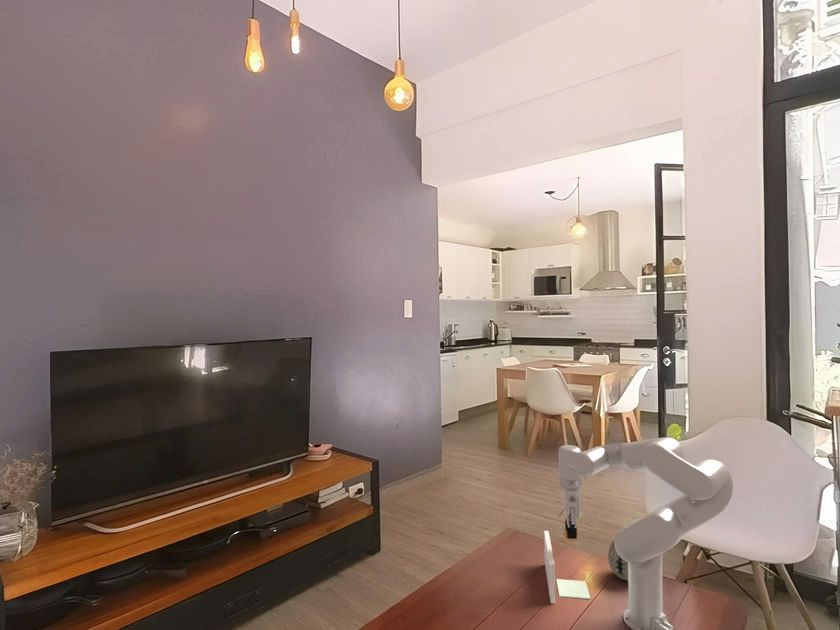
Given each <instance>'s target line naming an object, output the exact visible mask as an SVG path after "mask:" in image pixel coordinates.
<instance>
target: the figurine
mask: <svg viewBox="0 0 840 630" xmlns="http://www.w3.org/2000/svg"><path fill="white" fill-rule="evenodd" d="M563 513H564V508H563V509H562V510H561V512H560V513H559V516H558V518H560V517H561V515H562V514H563ZM582 516H583V515H582V514H581V519H580V520H581V524H584V520H583V517H582ZM569 517H571V516H569ZM569 521H570V520H569ZM567 524H568V520H567ZM563 538H564V539H563V540H564V541H566V542H567V543H573V542H575V540H576V539H571V538H567V530H566V531H563Z"/></svg>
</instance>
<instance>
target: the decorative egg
mask: <svg viewBox="0 0 840 630" xmlns="http://www.w3.org/2000/svg"><path fill="white" fill-rule="evenodd" d="M614 542H615V539H613V541H611V543H610V545H609V548H608V554H607V556H608V557H607V559H608V564H609V567H610V569H611V571H612V572H613V574H614V575H616V577H617V578H619V579H621V580H622V581H627V582H628V562H626V561H625V560H623V559H622V558H621V557H620V556H619V555H618V553H617V552H616V549H615V544H614Z"/></svg>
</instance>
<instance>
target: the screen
mask: <svg viewBox="0 0 840 630" xmlns="http://www.w3.org/2000/svg"><path fill="white" fill-rule="evenodd" d="M543 531H544V532H543V538H544V541H543V543H544V544H543V545H544V566H545V574H546V580H547V581H546V582H547V587H548V588H547V589H548V595H549V601H550V604H553V605H554V604H556V571H555V570H556V565H555V559H554V555H553V554H554V552H553V548H552V542H551V537H550V532H549V530H543Z"/></svg>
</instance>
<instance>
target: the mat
mask: <svg viewBox="0 0 840 630" xmlns="http://www.w3.org/2000/svg"><path fill="white" fill-rule="evenodd" d="M555 581H556V586H557V590H558V595H559V596H558V597H559V598H571V599H579V600H580V599H581V600H591V595H590V593H589V592H590V591H589V588H588V585H587V582H586V580H574V579H559V578H555Z"/></svg>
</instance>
